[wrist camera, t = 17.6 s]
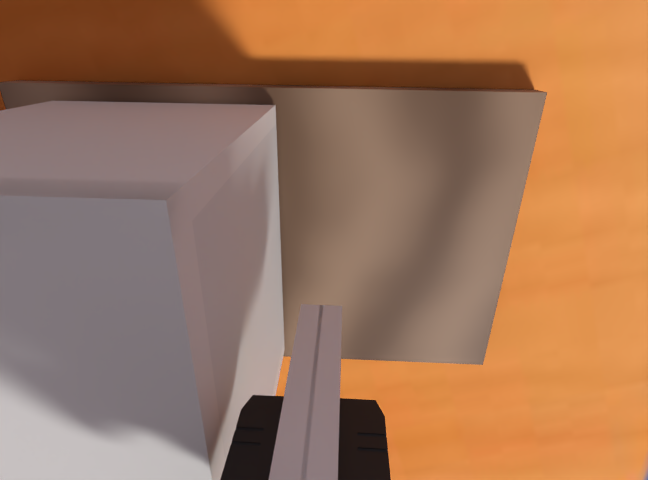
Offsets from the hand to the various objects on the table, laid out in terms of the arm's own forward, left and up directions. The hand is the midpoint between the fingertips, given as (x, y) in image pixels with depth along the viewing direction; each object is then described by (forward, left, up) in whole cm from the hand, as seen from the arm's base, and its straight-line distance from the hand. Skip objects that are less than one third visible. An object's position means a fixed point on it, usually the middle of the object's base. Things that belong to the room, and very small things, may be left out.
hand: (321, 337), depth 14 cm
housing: (-7, 0, -7) cm, 10 cm away
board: (-3, 0, -9) cm, 9 cm away
